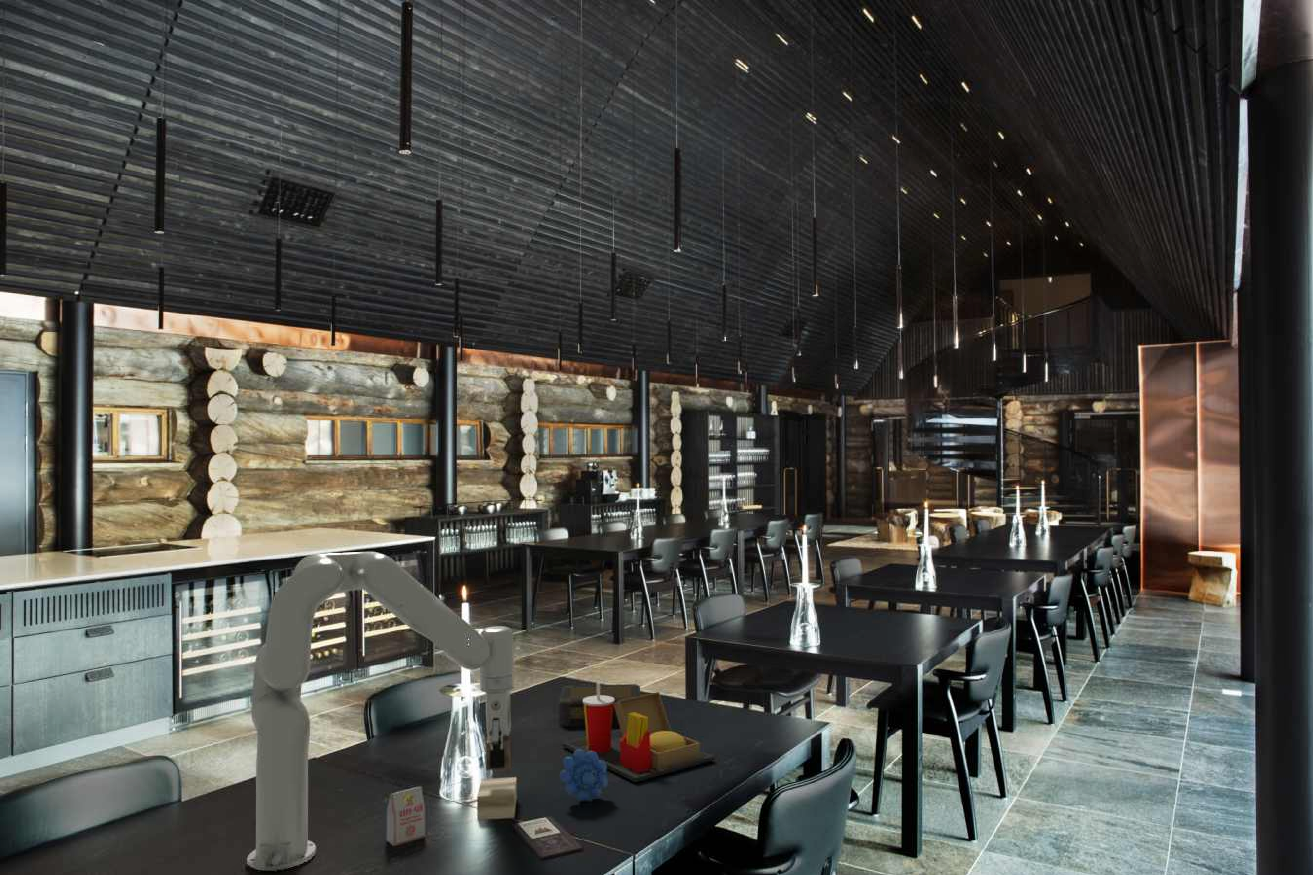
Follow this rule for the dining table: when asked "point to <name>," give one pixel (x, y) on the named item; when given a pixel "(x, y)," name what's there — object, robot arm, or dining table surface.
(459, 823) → the dining table surface
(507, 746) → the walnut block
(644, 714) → the fast food meal
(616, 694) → the cash box
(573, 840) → the chocolate bar
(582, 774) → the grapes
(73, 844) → the dining table surface
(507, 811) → the block
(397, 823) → the white paper bag
